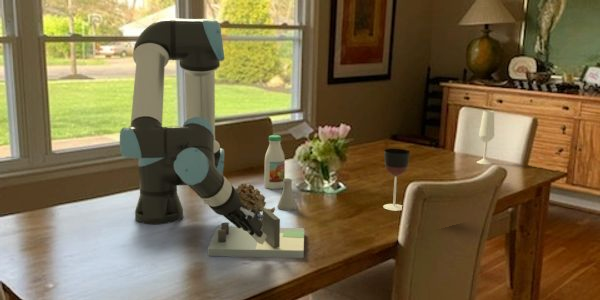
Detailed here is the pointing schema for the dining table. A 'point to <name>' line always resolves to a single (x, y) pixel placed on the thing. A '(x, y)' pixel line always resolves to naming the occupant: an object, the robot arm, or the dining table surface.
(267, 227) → the gate
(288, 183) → the flask
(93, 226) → the dining table surface
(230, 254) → the board
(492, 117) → the champagne flute
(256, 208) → the pine cone
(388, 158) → the wineglass
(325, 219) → the dining table surface
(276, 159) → the milk bottle
